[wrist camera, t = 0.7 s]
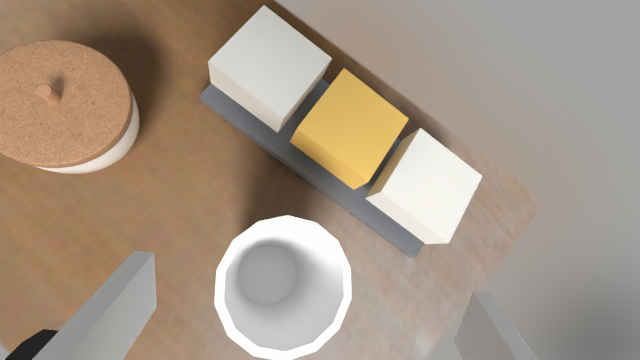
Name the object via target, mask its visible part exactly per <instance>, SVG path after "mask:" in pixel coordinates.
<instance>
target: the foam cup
mask: <svg viewBox="0 0 640 360" xmlns="http://www.w3.org/2000/svg"><path fill="white" fill-rule="evenodd" d="M351 299H352V297H351V267H350V265H349V263H348V261H347V259H346V256H345V254H344V252H343V250H342V248H341V246H340V244H339V241H338V240H337V239H335V238H334V237H333V236H332V235H331V234H329V233H328V232H327V231H326V230H325V229H324V228H322V227H321V226H320V225H319V224H318V223H316V222H313V221H309V220H305V219H301V218H298V217H294V216H290V215H286V216H281V217H276V218H271V219H266V220H261V221H258V222H256V223H255V224H254V225H252V226H251V227H250V228H248V229H247V230H246V231H244V232H243V233H242V234H240V235H239V236H238V237H236V238H235V239H234V240H233V241H232V242H231V244H230V246H229V248H228V250H227V252H226V253H225V255H224V257H223V259H222V261H221V263H220V264H219V266H218V268H217V270H216V286H215V302H214V305H215V307H216V309H217V312H218V314H219V317H220V319H221V321H222V324H223V326H224V328H225V331H226V333H227V335H228V336H229V337H230V338H231V339H232V340H234V341H235V342H236V343H237V344H239V345H240V346H241V347H242V348H244V349H245V350H246V351H247V352H249V353H250V354H251V355H252V356H255V357H261V358H267V359H273V360H292V359H295V358H298V357H301V356H304V355H307V354H310V353H313V352H316V351H317V350H318V349H319V348H320V347H321V346H322V345H323V344H324V343H325V342H326V341H327V340H328V339H329V338H330V337H331V336H332V335H333V334H334V333H336V332H337V331H338V330H339V329H340V326H341V324H342V321H343V319H344V316H345V314H346V311H347V309H348V306H349V304H350V301H351Z"/></svg>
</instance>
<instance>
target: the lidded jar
mask: <svg viewBox="0 0 640 360" xmlns="http://www.w3.org/2000/svg"><path fill="white" fill-rule="evenodd" d="M138 130H139V110H138V107H137V103H136V100H135V97H134V95H133V93H132V91H131V89H130V86H129V84H128V82H127V80H126V78H125V76H124V75H123V73H122V72H121V70H120V69H119V68H118V66H117V65H116V64H115V63H114V62H113V61H112V60H111V59H109V58H108V57H106V56H105V55H104V54H102V53H101V52H99V51H97V50H95V49H93V48H91V47H88V46H86V45H83V44H79V43H75V42H71V41H62V40H44V41H36V42H31V43H27V44H24V45H20V46H18V47H15V48H13V49H10V50H9V51H7V52H5V53H4V54H2V55H0V152H1V153H2V154H4V155H6V156H8V157H10V158H12V159H14V160H16V161H19V162H22V163H25V164H28V165H32V166H35V167H38V168H41V169H45V170H48V171H53V172H60V173H78V174H80V173H89V172H93V171H97V170H100V169H103V168H106V167H108V166H110V165H112V164H113V163H115V162H117V161H118V160H119V159H121V158H122V157H123V156H124V155H125V154H126V153H127V152H128V151H129V150H130V148H131V147H132V145H133V144H134V142H135V139H136V137H137V134H138Z"/></svg>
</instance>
